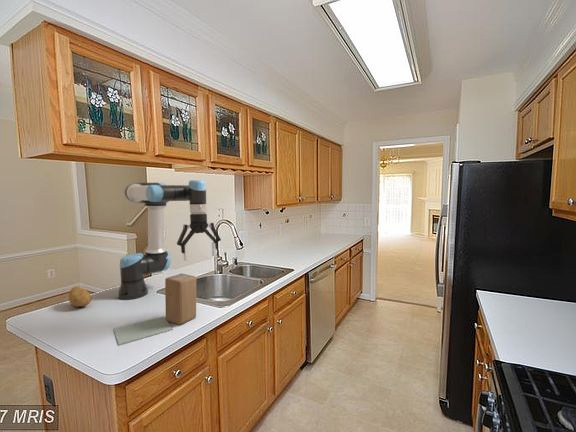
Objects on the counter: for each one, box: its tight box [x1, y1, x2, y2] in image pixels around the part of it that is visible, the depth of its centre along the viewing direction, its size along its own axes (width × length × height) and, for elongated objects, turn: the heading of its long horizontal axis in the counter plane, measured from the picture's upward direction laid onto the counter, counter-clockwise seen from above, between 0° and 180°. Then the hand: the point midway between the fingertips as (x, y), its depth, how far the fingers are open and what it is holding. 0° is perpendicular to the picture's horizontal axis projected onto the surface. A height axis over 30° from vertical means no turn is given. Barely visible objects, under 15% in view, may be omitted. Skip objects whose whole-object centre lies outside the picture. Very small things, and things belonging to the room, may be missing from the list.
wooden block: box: [164, 273, 197, 325], centre depth 131 cm, size 10×10×20 cm
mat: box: [113, 316, 174, 346], centre depth 122 cm, size 16×20×1 cm
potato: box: [68, 286, 92, 308], centre depth 148 cm, size 9×16×9 cm, turn 48°
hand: (200, 257), depth 135 cm, fingers open, 13 cm apart
